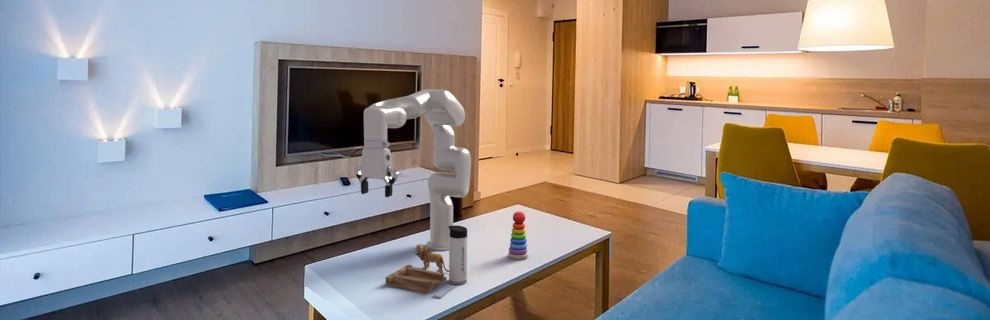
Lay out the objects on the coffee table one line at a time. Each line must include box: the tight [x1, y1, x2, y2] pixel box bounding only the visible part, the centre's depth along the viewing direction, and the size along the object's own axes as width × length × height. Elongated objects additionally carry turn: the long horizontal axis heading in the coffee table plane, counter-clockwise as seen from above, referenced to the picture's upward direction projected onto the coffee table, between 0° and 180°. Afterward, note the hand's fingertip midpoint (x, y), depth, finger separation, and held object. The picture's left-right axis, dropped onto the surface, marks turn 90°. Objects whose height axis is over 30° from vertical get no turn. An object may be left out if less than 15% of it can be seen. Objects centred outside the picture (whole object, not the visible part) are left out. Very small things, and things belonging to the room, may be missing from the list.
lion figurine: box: [413, 243, 449, 273], centre depth 198 cm, size 15×5×9 cm, turn 65°
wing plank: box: [432, 284, 456, 300], centre depth 178 cm, size 10×3×1 cm, turn 157°
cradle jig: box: [385, 264, 447, 295], centre depth 186 cm, size 14×16×3 cm
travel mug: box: [448, 225, 468, 286], centre depth 186 cm, size 6×7×20 cm
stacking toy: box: [507, 210, 529, 260], centre depth 213 cm, size 8×8×19 cm
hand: (376, 194), depth 180 cm, fingers open, 9 cm apart
